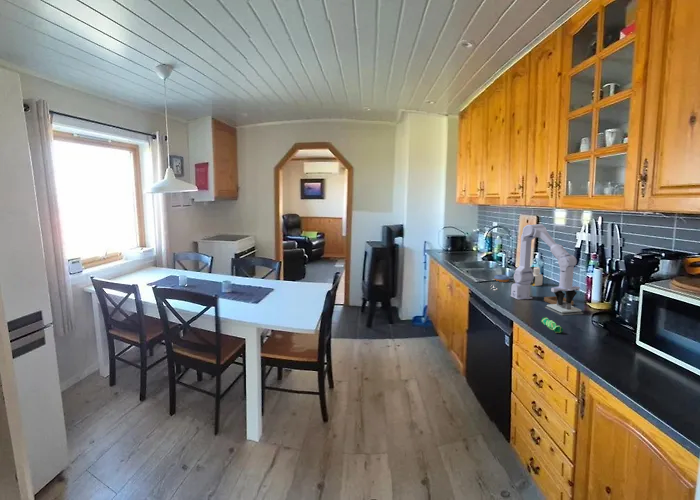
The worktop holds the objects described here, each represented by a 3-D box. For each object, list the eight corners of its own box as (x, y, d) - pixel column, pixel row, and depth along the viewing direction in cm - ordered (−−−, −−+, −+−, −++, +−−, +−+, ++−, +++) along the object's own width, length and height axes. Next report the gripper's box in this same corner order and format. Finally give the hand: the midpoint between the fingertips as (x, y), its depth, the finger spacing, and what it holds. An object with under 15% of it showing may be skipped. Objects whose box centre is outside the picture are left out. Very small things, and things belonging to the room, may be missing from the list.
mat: (561, 315, 171) (561, 314, 171) (545, 307, 183) (545, 307, 183) (583, 313, 173) (583, 313, 173) (565, 306, 185) (565, 305, 184)
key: (491, 290, 219) (498, 291, 218) (491, 289, 219) (498, 289, 218) (489, 286, 230) (496, 286, 229) (489, 284, 230) (496, 285, 229)
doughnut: (500, 278, 249) (500, 272, 248) (512, 281, 240) (512, 275, 239) (490, 281, 244) (490, 275, 243) (503, 285, 236) (503, 278, 235)
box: (556, 306, 184) (556, 302, 184) (543, 301, 194) (544, 297, 194) (573, 305, 186) (573, 301, 185) (559, 300, 195) (560, 296, 195)
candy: (564, 331, 149) (559, 324, 149) (557, 336, 150) (552, 328, 149) (550, 322, 161) (545, 315, 161) (544, 325, 162) (539, 319, 161)
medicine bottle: (525, 284, 232) (526, 266, 230) (533, 282, 234) (534, 265, 232) (534, 286, 225) (535, 268, 223) (542, 285, 228) (543, 267, 226)
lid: (561, 314, 172) (562, 306, 171) (546, 307, 183) (547, 299, 182) (581, 312, 173) (582, 304, 173) (565, 305, 184) (565, 298, 183)
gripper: (558, 281, 170) (557, 307, 173) (585, 280, 172) (583, 306, 174) (548, 278, 177) (547, 303, 179) (574, 276, 179) (572, 301, 181)
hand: (564, 304), depth 177 cm, fingers open, 4 cm apart
